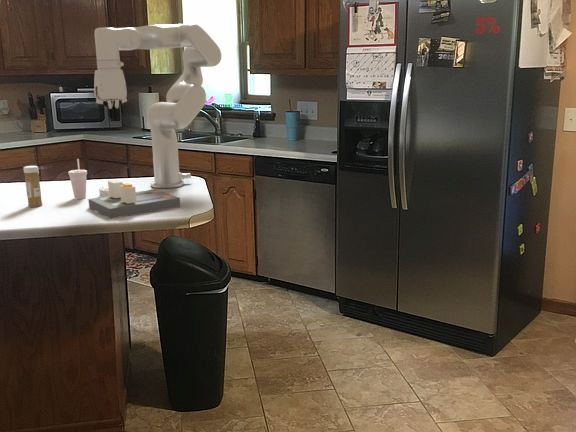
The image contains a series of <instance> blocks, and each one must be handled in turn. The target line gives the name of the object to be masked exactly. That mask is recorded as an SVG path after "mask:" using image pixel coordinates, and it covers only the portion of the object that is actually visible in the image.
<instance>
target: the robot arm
mask: <svg viewBox="0 0 576 432" xmlns="http://www.w3.org/2000/svg"><path fill="white" fill-rule="evenodd" d="M94 44H95V55H96V66H97V67H96V69H97V70H96V69H95V70H94V78H93V80H94V81H93V83H94V84H93V87H94V89H93V93H94V97H95V99H96V100H95V103H96V104H98V105H99V104H100V105H103V106H104V107H105V108H106V110H107V117H108V119H109V121H113V122H114V121H118V118H119V111H118V109H119V107H120V106H121V104H124V103H127V102H128V99H127V95H128V92H127V91H128V90H127V83H126V79H125V74H124V71H123V69H122V67H124V65H125V64H124V61H121V58H120V51H133V50H150V51H151V50H164V49H165V50H166V49H178V48H184V50H183V52H182V61H183V62H182V63H183V72H182V74H181V75H180V77H179V78H177V80H176V81H175V82H174V83H173V85H171V87H170V88H169V90H168V91H167V93H166V101H165V102H164V101H160V102H154V103H153V104H151V105H150V106H149V108H148V110H147V122H148V125H149V130H150V135H151V144H152V145H151V147H152V148H151V150H152V161H153V162H152V164H153V175H154V177H153V178H154V181H151V182H150V186H151V187H152V188H153V189H154V188H155V189H175V188H179V187H182V186H184V185H185V181H184V179H191V177H192V173H190V172H188V173H182V172H180V161H179V143H178V137H177V133H176V130H183V129H186V128H187V127H188V126H189V125H190V124H191V123H192V122H193V120H194V119H195V118H196V117H197V115H198V114H199V113H200V112H201V110H202V109H203V108H204V106H205V104H206V101H207V93H206V90H205V89H204V88H203V86H202V85H203V81H204V78H203V73H202V67H203V68H205V67H207V68H209V67H210V68H212V67H213V68H214V67H216V66H217V65H219V64H220V63H221V61H222V52H221V49H220V46H218V44H217V42H215V41H214V39H213V38H212V37H211V36H210V35H209V34H208V33H207V32H206V31H205V29H204V28H203V27H201V26H200V25H198V24H197V23H178V24H177V23H175V24H150V25H144V26H138V27H137V26H136V27H97V28H95V29H94Z"/></svg>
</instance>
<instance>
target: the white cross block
mask: <svg viewBox="0 0 576 432" xmlns="http://www.w3.org/2000/svg"><path fill="white" fill-rule="evenodd" d="M98 192H99V197H106V196H109V188H108V184H107V185H102V186H101V187H100V188H99V191H98Z"/></svg>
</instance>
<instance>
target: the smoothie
mask: <svg viewBox="0 0 576 432" xmlns="http://www.w3.org/2000/svg"><path fill="white" fill-rule="evenodd" d="M76 162H77V169H72V170H69V171H68V172H67V173H68V176H69V179H70V183H71V184H70V185H71V188H72V192H73V196H74V199H75V200H84V199H86V198H87V174H88V170H87V169H80V159H79V158H77V159H76Z"/></svg>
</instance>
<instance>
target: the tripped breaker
mask: <svg viewBox="0 0 576 432" xmlns="http://www.w3.org/2000/svg"><path fill="white" fill-rule="evenodd" d="M136 192H137V191H136V186H134V185H133V184H131V183H129V182H128V183H123V184H122V185H121V186H120V194H121V201H122V202H125V203H127V204H128V203H135V202H136Z"/></svg>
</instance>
